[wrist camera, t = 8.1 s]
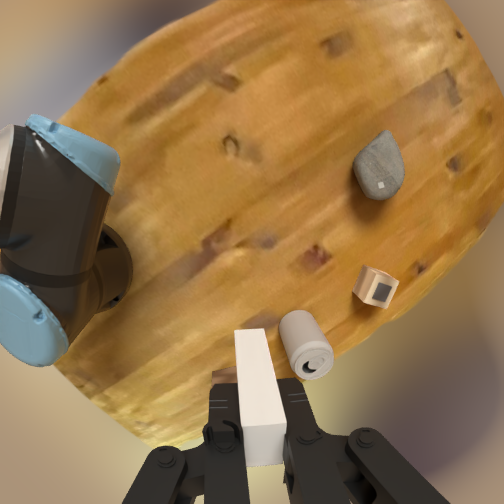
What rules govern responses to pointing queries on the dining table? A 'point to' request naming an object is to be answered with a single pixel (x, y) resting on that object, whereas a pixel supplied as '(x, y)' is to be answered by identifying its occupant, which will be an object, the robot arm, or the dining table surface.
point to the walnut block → (224, 376)
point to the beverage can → (305, 345)
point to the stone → (380, 167)
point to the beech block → (375, 287)
